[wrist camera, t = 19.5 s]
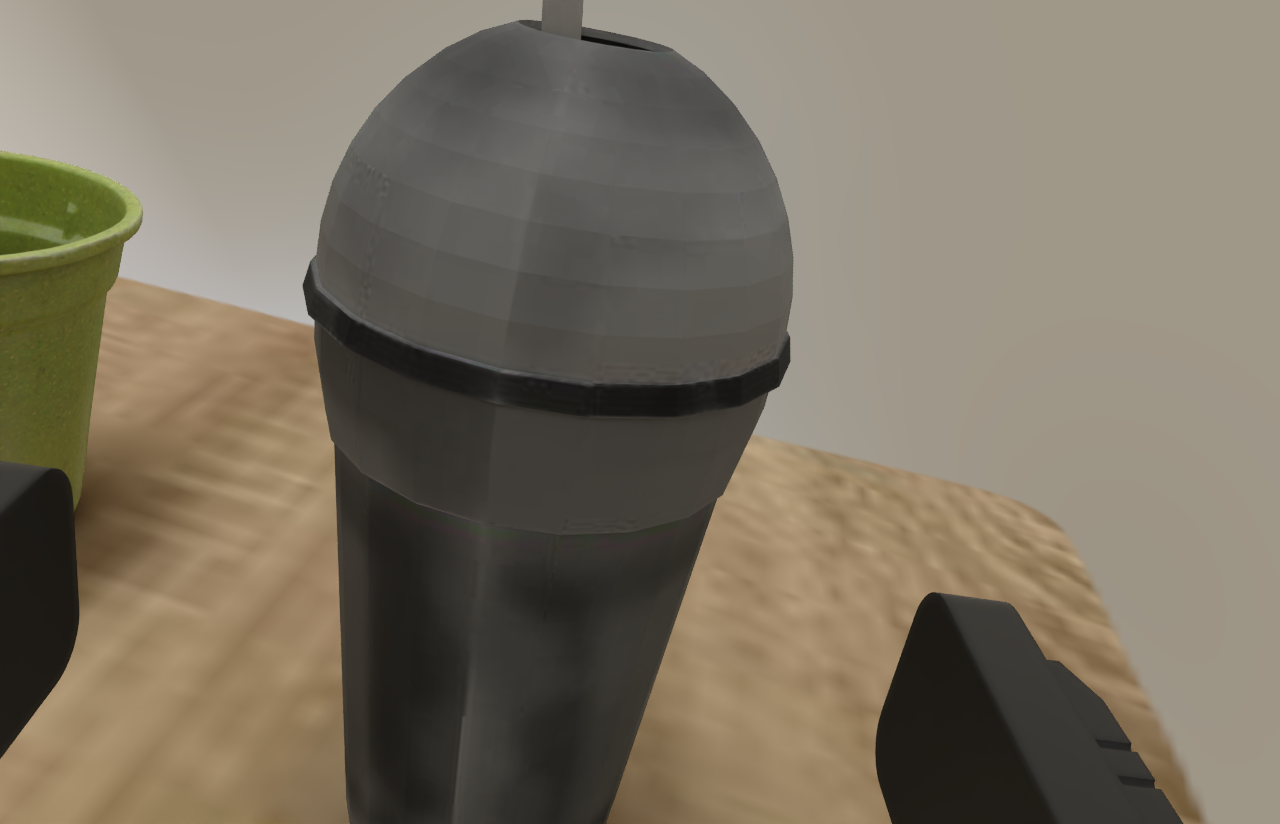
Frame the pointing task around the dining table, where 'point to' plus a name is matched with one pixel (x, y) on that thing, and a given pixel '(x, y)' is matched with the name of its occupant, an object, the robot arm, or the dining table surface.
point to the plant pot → (55, 304)
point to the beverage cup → (533, 405)
